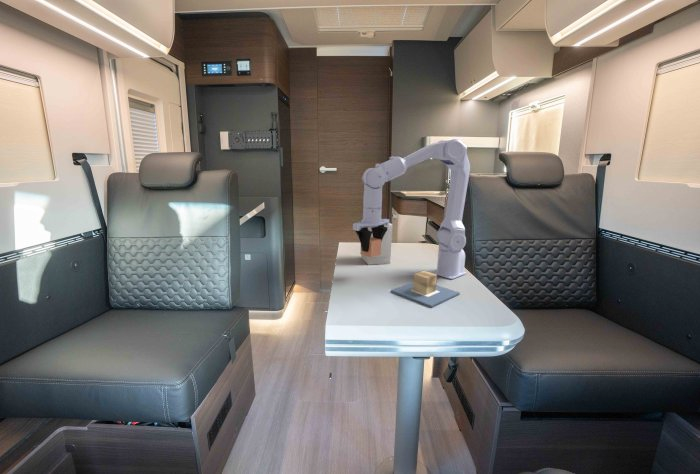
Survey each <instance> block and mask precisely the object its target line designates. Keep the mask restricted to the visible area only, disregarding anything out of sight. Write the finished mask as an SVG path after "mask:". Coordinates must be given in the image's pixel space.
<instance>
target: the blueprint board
mask: <svg viewBox="0 0 700 474" xmlns="http://www.w3.org/2000/svg"><path fill="white" fill-rule="evenodd" d="M413 283H414V281H411V282H410V283H407V284H404V285H402V286H399V287H398V286H397V287H396V288H393V289H391V290H390V293H392V294H395V295H397V296H399V297H402V298H405V299H408V300H410V301H413V302H416V303H417V304H420V305H422V306H426V307H428V308H431V309H432V308H435V307H437V306H439V305H441V304H443V303H445V302H447V301H449V300H451V299H454V298H455V297H458V296H459V295H460V293H461V292H459V291H457V290H453V289H449V288H447V287H443V286H441V285H437V284H436V291H434V292H432V293H430V294H427V295H425V294H422V293H419V292H417V291H414V290H413Z"/></svg>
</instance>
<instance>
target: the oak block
mask: <svg viewBox="0 0 700 474" xmlns="http://www.w3.org/2000/svg"><path fill="white" fill-rule="evenodd" d="M437 277H438V275H436V274H433V273H431V272H429V271H426V270H422V271H419V272H416V273H413V282H414V283H413V290H414V291H417V292H419V293H422V294H425V295H427V294H430V293H432V292H434V291H436V285H437V279H438V278H437Z"/></svg>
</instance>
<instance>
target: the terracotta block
mask: <svg viewBox="0 0 700 474" xmlns="http://www.w3.org/2000/svg"><path fill="white" fill-rule="evenodd" d="M361 255H365V256H368V257H374V256H378V255H381V239H377V238H373V237H370V242H369V250H368V252H365V251H362V247H361V246H360V256H361Z"/></svg>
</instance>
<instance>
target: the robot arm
mask: <svg viewBox="0 0 700 474" xmlns="http://www.w3.org/2000/svg"><path fill="white" fill-rule="evenodd" d="M429 159H436V160H438V161H439V162H441V163H443V164H444V165H446V167H448V169H449V170H450V171H451V175H450V181H449V187H448V193H447V202H446V206H445V207H446V209H445V215H444V219H443V221H441V223H440V227H439V229H438V230H437V232H436V236H435V237H436V241H437V242H438V243H439V244H438V253H437V263H436V270H433V271H431V272H430V273H433V274H436V275H437V276H439V277H443V278H445V279H449V280H454V279H457V278H458V277H461V276H464V275H466V274H467V272H466V271H465V262H466V252H465V251H464V247H465V246H466V244H467V237H466V228H465V225H464V224H463V217H464V216H463V215H464V210H465V209H464V208H465V203H466V196H467V189H468V184H469V180H470V179H469V178H470V171H471V163H470V160H469V157H468V147H467V146H466V145H465V143H464V142H462V140H461V139H459V138H455V139H454V138H453V139H449V140H443V139H442V140H439V141H437V142H432V143H429V144H427V145H425V146H424V147H421V148H420V149H418V150H416V151H413V152H412V153H410V154H408V155H406V156H405V157H400V156H394V155H393V156H389V157H388V160H386V161H384V162H382V163H376V164H375V167H369V168H367V169H366V170H365V171H364V173H363V174H362V176H361V181H362V183H363V202H362V203H363V204H362V205H363V208H362V209H363V210H362V219H361V221H358V222H355V223H352V231H355V233H356V235H357V236H358V240H359V242H360V248H361V247H362V251H365V252H368V250H369V242H370V237H371V234H373V238H377V239H381V242H382V239H383V237H384V235H385V233H386V231H387V227H384V225H386V226H388V225H389V223H390V219H388V218H382V213H383V211H382V208H383V207H382V206H383V186H384V185H385V183H387V182H390V181H392V180H394V179H396V178H398V177H401V176H402V175H404V174H406V171H407V169H408V168H410V167H412V166H415V165H417V164H419V163H421V162H423V161H426V160H429ZM368 228H371V229H372V231H369V230H368Z"/></svg>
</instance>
